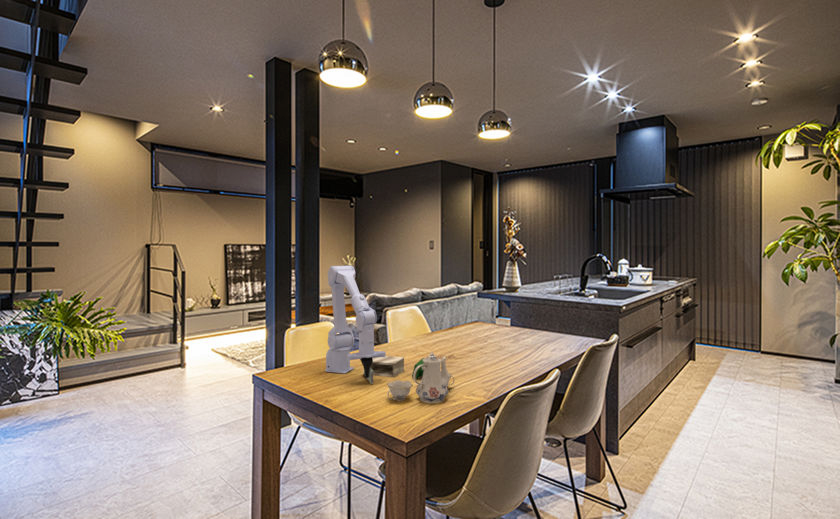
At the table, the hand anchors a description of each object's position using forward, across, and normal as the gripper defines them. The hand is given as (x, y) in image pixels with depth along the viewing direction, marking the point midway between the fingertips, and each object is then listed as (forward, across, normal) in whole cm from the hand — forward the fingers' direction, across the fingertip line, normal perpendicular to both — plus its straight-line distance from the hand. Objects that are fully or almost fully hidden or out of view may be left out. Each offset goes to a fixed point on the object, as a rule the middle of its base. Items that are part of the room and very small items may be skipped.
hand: (366, 377), depth 157 cm
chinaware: (+2, +16, -22) cm, 27 cm away
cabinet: (+2, +10, +10) cm, 14 cm away
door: (+2, +1, +3) cm, 4 cm away
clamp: (+2, +24, 0) cm, 24 cm away
